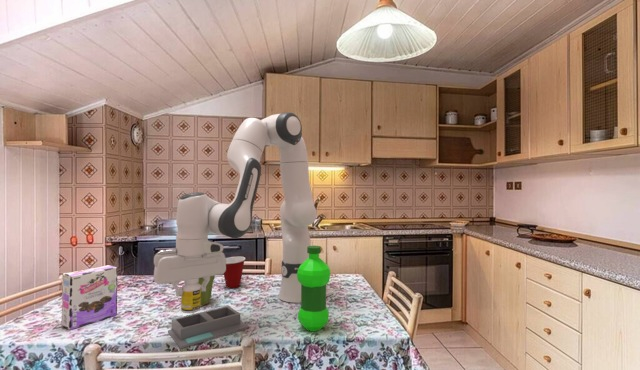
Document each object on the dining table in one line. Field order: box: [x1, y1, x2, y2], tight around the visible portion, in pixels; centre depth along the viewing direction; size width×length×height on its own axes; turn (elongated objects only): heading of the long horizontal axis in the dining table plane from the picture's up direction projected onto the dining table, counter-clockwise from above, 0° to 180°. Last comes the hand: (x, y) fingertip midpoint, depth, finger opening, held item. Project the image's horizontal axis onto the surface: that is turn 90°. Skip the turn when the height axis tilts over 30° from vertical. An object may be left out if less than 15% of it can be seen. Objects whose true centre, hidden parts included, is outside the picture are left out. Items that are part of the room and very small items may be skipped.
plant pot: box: [198, 275, 216, 306], centre depth 122 cm, size 12×12×11 cm
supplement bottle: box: [180, 278, 202, 314], centre depth 98 cm, size 5×5×10 cm
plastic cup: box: [223, 256, 246, 289], centre depth 142 cm, size 11×11×12 cm
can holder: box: [167, 305, 250, 349], centre depth 99 cm, size 20×12×4 cm, turn 130°
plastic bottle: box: [297, 245, 331, 332], centre depth 102 cm, size 10×10×25 cm
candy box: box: [61, 264, 118, 330], centre depth 106 cm, size 14×6×16 cm, turn 148°
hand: (191, 293), depth 98 cm, fingers closed on supplement bottle, 5 cm apart
